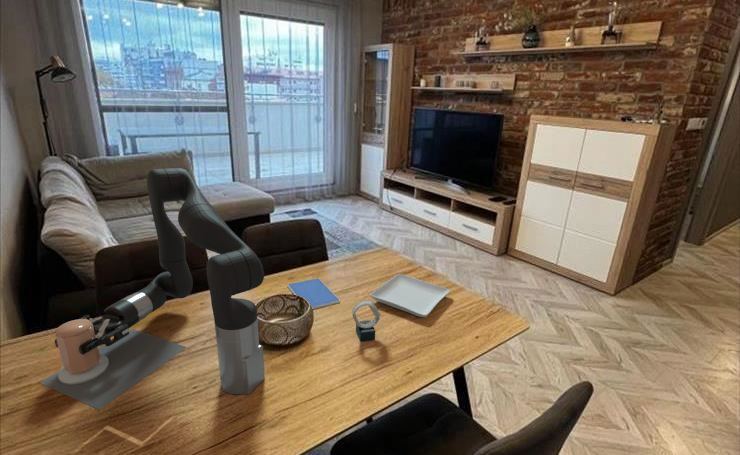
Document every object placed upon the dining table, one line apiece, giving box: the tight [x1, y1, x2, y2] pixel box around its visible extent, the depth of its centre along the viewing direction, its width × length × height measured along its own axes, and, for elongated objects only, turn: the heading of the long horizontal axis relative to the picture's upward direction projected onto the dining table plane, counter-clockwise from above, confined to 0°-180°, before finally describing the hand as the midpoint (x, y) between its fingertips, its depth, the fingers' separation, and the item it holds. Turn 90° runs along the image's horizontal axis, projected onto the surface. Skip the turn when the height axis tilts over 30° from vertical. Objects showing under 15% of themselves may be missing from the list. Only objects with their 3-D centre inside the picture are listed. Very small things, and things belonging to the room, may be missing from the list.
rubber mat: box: [39, 328, 188, 411], centre depth 98 cm, size 20×24×1 cm
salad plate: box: [369, 273, 451, 318], centre depth 135 cm, size 21×21×3 cm
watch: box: [352, 299, 381, 343], centre depth 113 cm, size 6×8×11 cm
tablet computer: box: [286, 277, 341, 310], centre depth 137 cm, size 19×13×1 cm, turn 30°
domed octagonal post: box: [55, 318, 100, 373], centre depth 93 cm, size 7×7×10 cm
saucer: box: [57, 354, 109, 385], centre depth 95 cm, size 10×10×1 cm
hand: (68, 347), depth 91 cm, fingers closed on domed octagonal post, 6 cm apart
